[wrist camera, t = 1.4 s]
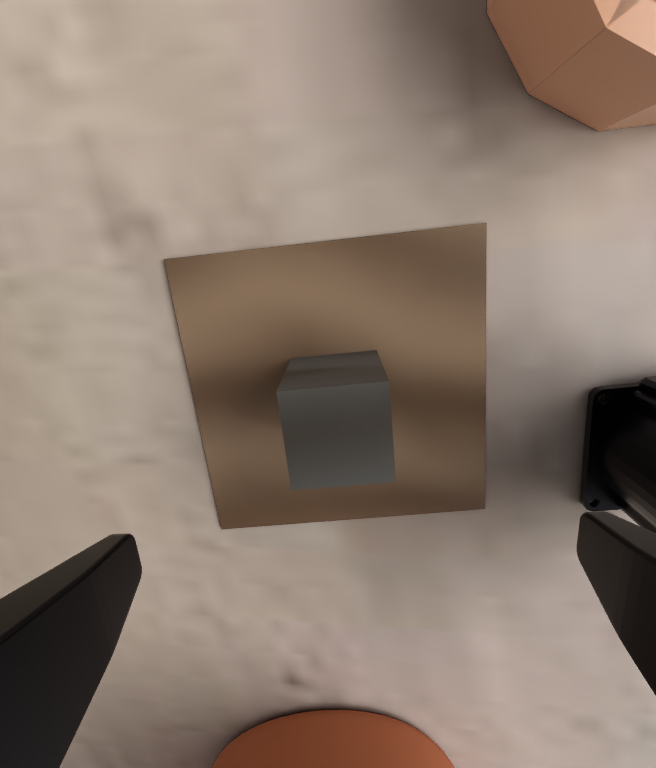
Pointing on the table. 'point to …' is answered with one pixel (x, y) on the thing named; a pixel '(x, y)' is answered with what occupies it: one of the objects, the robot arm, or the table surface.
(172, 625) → the table surface
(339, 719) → the potted cactus
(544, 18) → the bowl
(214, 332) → the lid
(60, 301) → the table surface
